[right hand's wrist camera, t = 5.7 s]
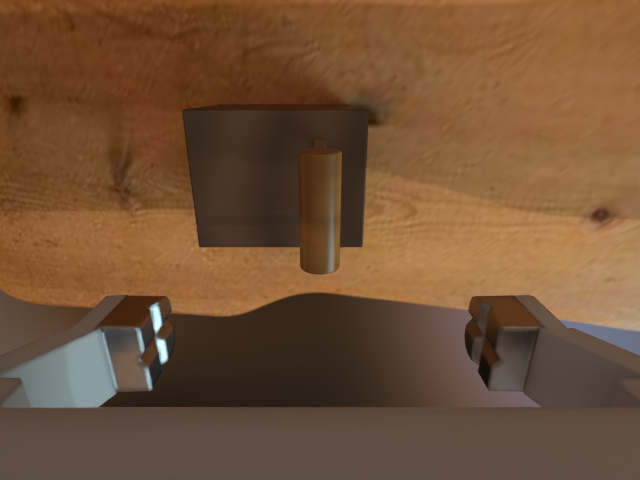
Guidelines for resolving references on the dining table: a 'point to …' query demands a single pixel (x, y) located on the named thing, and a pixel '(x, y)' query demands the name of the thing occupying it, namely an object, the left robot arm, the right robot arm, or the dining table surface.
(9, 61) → the dining table surface
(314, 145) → the lid
